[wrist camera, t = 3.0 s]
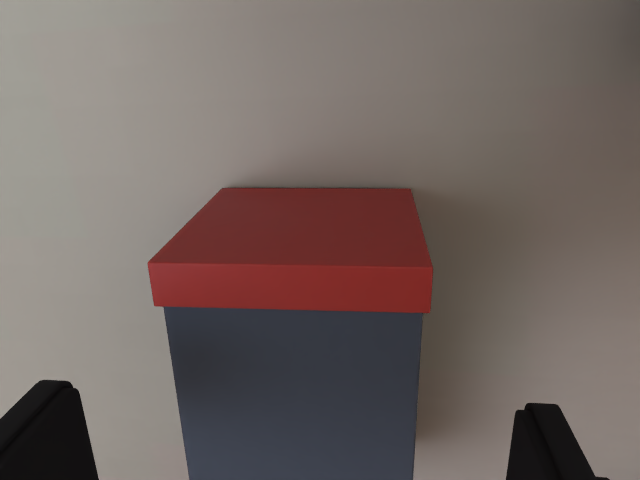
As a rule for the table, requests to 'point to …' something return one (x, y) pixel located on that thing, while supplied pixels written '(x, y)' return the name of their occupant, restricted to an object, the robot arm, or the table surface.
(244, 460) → the red-lidded grey box
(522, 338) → the table surface
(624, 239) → the table surface
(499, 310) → the table surface
